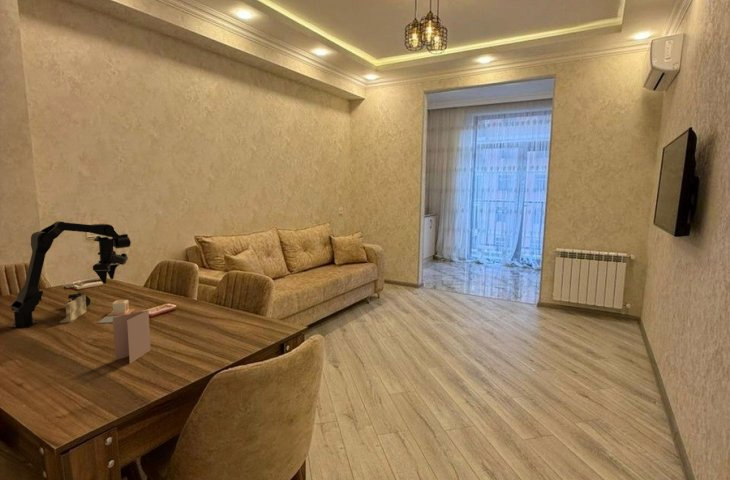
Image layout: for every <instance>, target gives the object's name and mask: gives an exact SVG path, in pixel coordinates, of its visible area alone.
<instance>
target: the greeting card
mask: <svg viewBox="0 0 730 480" xmlns="http://www.w3.org/2000/svg"><path fill="white" fill-rule="evenodd" d="M112 326H113V340H114V344H113V345H114V355H115V359H114V360H115V361H118V360H121V359H124V358H128V357H129V364H131V363H133V362H135V361H136V360H137V359H139V358H140V357H142V356H144V355H145V354H147V353H148V352H150V351H151V350H152V349H151V348H152V347H151V332H150V312H149V310H146V309H145V310H142V311H138V312H132V313H131V314H127V315H123V316H118V317H113V323H112Z"/></svg>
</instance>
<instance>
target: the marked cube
mask: <svg viewBox="0 0 730 480" xmlns="http://www.w3.org/2000/svg"><path fill="white" fill-rule="evenodd" d="M129 309H130V307H129V299H119V300H118V299H117V300H115V301H113V302H112V311H113V314H123V313H126V312H127V311H129Z"/></svg>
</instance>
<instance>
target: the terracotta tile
mask: <svg viewBox="0 0 730 480" xmlns="http://www.w3.org/2000/svg"><path fill="white" fill-rule="evenodd" d="M135 310H136V308H129V311H127V312H126V313H123V314H113V310H112V311H111V312H110V313H108V314H106V316H120V315H127V314H132V313H134V311H135Z"/></svg>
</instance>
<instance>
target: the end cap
mask: <svg viewBox="0 0 730 480" xmlns="http://www.w3.org/2000/svg"><path fill="white" fill-rule="evenodd" d="M81 295H86V294H85V293H84V292H82V291H78V292H77V293H74V294H68V295H67V297H68V299H71V300H68V303H69V302H71V301H73V300H74V299H76V298H78V297H79V296H81ZM90 304H91V298H90V297H89V296H87V295H86V308H88V307H89V306H90Z"/></svg>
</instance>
